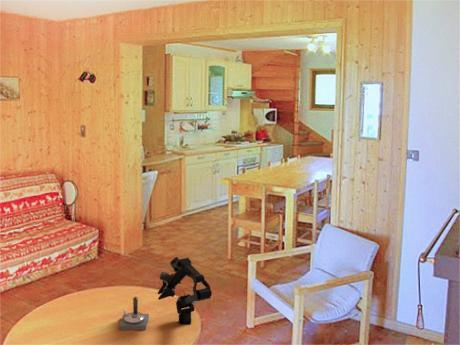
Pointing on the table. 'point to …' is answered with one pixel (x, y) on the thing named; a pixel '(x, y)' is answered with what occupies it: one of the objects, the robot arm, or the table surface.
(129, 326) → the post base
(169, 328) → the table surface
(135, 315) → the grey round part
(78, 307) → the table surface
